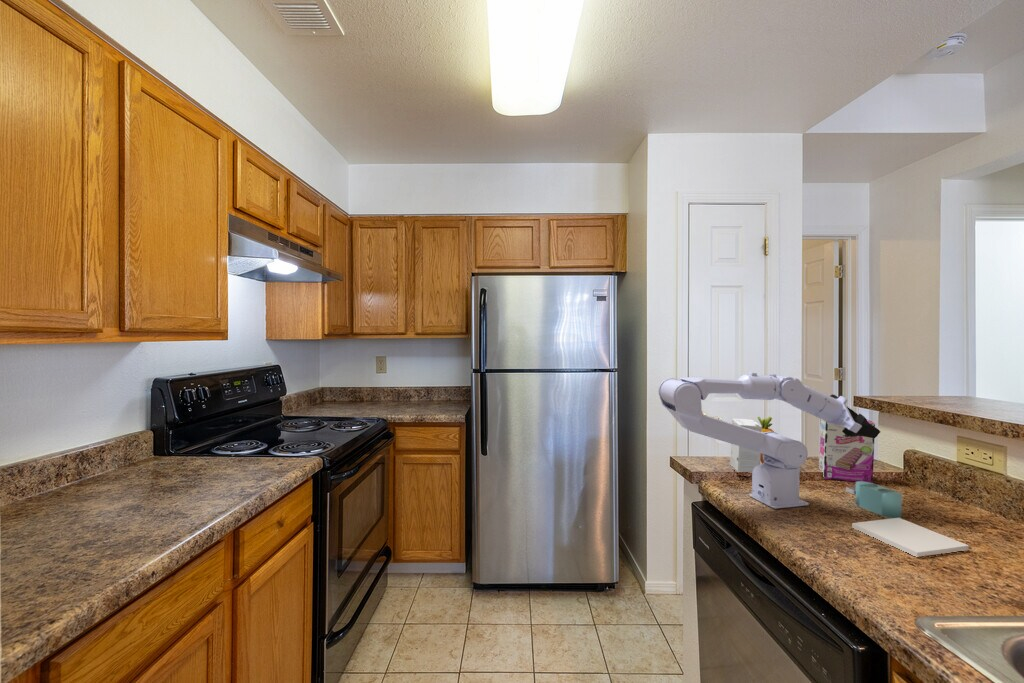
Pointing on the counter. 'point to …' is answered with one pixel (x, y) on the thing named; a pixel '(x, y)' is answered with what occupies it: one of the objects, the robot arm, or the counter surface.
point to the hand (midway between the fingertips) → (865, 425)
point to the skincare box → (745, 449)
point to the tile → (909, 537)
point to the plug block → (877, 499)
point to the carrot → (765, 429)
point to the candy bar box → (845, 454)
